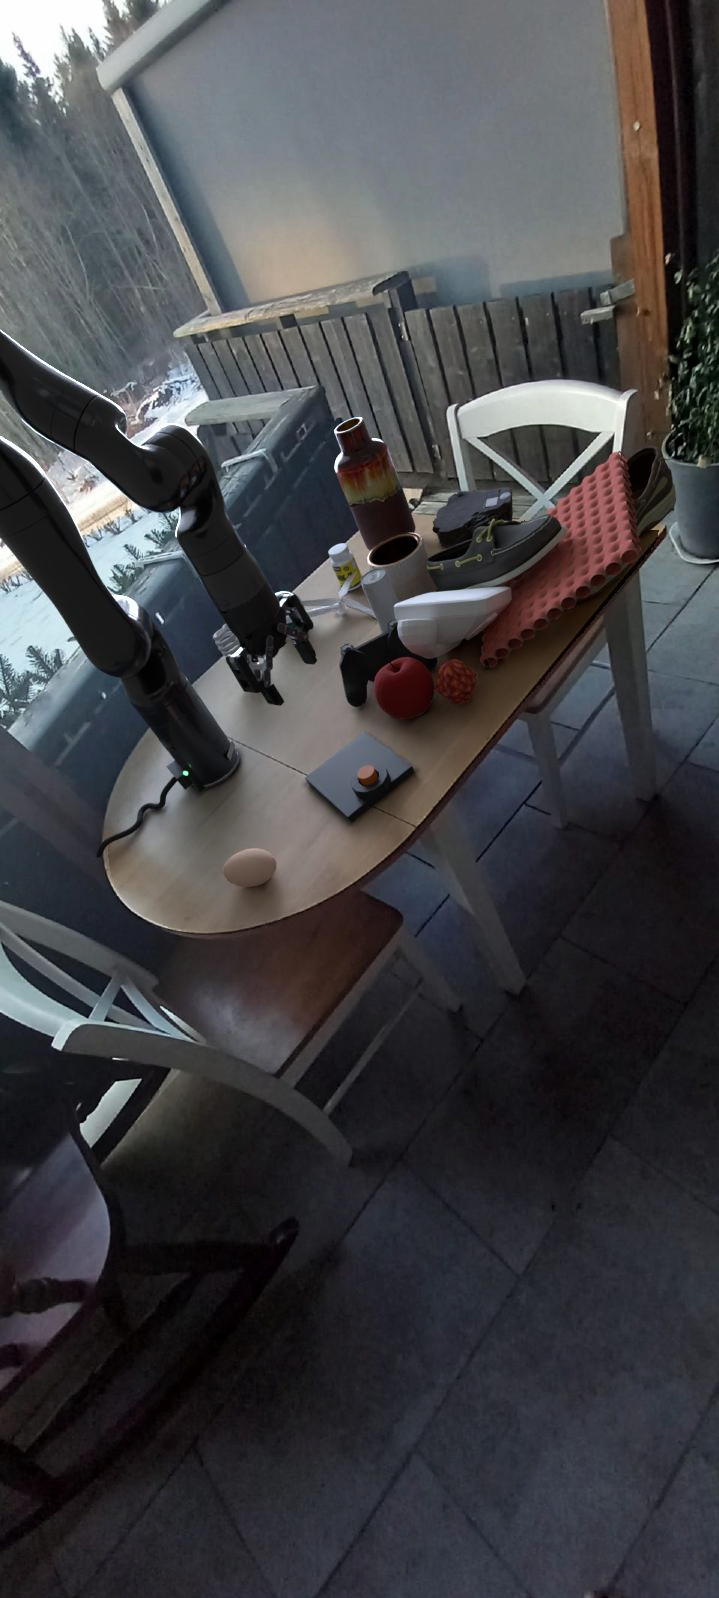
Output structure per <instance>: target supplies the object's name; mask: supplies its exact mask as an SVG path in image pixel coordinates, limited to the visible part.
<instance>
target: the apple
mask: <svg viewBox="0 0 719 1598" xmlns="http://www.w3.org/2000/svg"><path fill="white" fill-rule="evenodd" d="M386 661H387V662H389V663H388V664H387V665H385V666H384V667H383V668H381V669H380V670H379V672H378V673H377V675H376V677H375V681H374V682H373V694H374V698H375V701H376V703H377V704H378V706H379V708H380V709H381V710H382V711H383V712H384V713H385V714H387V715H389V716H390V717H393V718H396V719H401V720H409V719H413V718H415V717H418V716H420V715H422V714H424V713H425V712H426V711H428V709H429V707H430V706H431V704H432V702H433V700H434V696H435V681H434V678H433V676H432V674H431V672H430V671H429V670H428V669H427V667H426V666H425V665H424V664H423V663H422V662H420V661H419V660H416V659H413V658H410V657H403V658H399V659H396V660H394V661H392V662H390V661H389V658H387V659H386Z"/></svg>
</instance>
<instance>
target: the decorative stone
mask: <svg viewBox="0 0 719 1598" xmlns="http://www.w3.org/2000/svg"><path fill="white" fill-rule="evenodd" d="M477 679H478V673H477V672H475V670H473V669H472V668H471V667H470V666H468V665H467V664H466V663H465V662H463V661H461V660H459V659H456V658H454V659H449V660H448V661H445V662H442V663H441V666H440V667H439V669H438V671H437V675H436V680H435V684H434V686H435V689H434V692H436V693H438V694H439V695H441V697H443V698H444V699H446V700H447V701H449V702H450V703H452V704H454V705H456V706H458V705H461V704H464V703H466V702H469V701H470V700H471V698H472V696H473V695H474V690H475V687H476V682H477Z"/></svg>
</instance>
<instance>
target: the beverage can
mask: <svg viewBox="0 0 719 1598" xmlns="http://www.w3.org/2000/svg"><path fill="white" fill-rule="evenodd" d="M361 583H362V584H361V588H362V590H363V592H364V595H365V597H366V599H367V602H368V604H369V605H370V609H371V610H372V611H373V612H374V615H375V617H376V618H375V619H376V622H377V624H378V626H379V628H380V631H381V634H383V633H385V632H386V631H388V630H387V626H388V625H387V623H388V622H389V621H390V620H393V619H395V613H394V606H395V604H397V603H399V601H398V599H397V596H396V594H395V591H394V589H393V586H392V584H391V581H390V579H389V576H388V574H387V573H386V571H385V570H384V569H382V568H377V569H373V570H369V571H367V572H365V573H364V574H363V575H362V578H361Z"/></svg>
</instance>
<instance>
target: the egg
mask: <svg viewBox="0 0 719 1598" xmlns="http://www.w3.org/2000/svg"><path fill="white" fill-rule="evenodd" d="M276 871H277V860H276V858H275V856H274V855H273V854H271V853H270V852H269V851H267V850H265V849H263V848H258V847H257V848H255V847H251V848H245V849H243V850H240V851H238V852H236V853H234V854H233V855H232V856H230V857H229V858H228V859H227V860H226V862H224V864H223V868H222V873H223V876H224V878H225V879H226V880H227V882H229V883H230V884H233V885H234V886H238V887H242V888H251V887H253V888H254V887H258V886H261V885H264V884H265V883H266V882H268V881H269V880H271V878H272V877H273V876H274V875H275V873H276Z"/></svg>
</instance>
